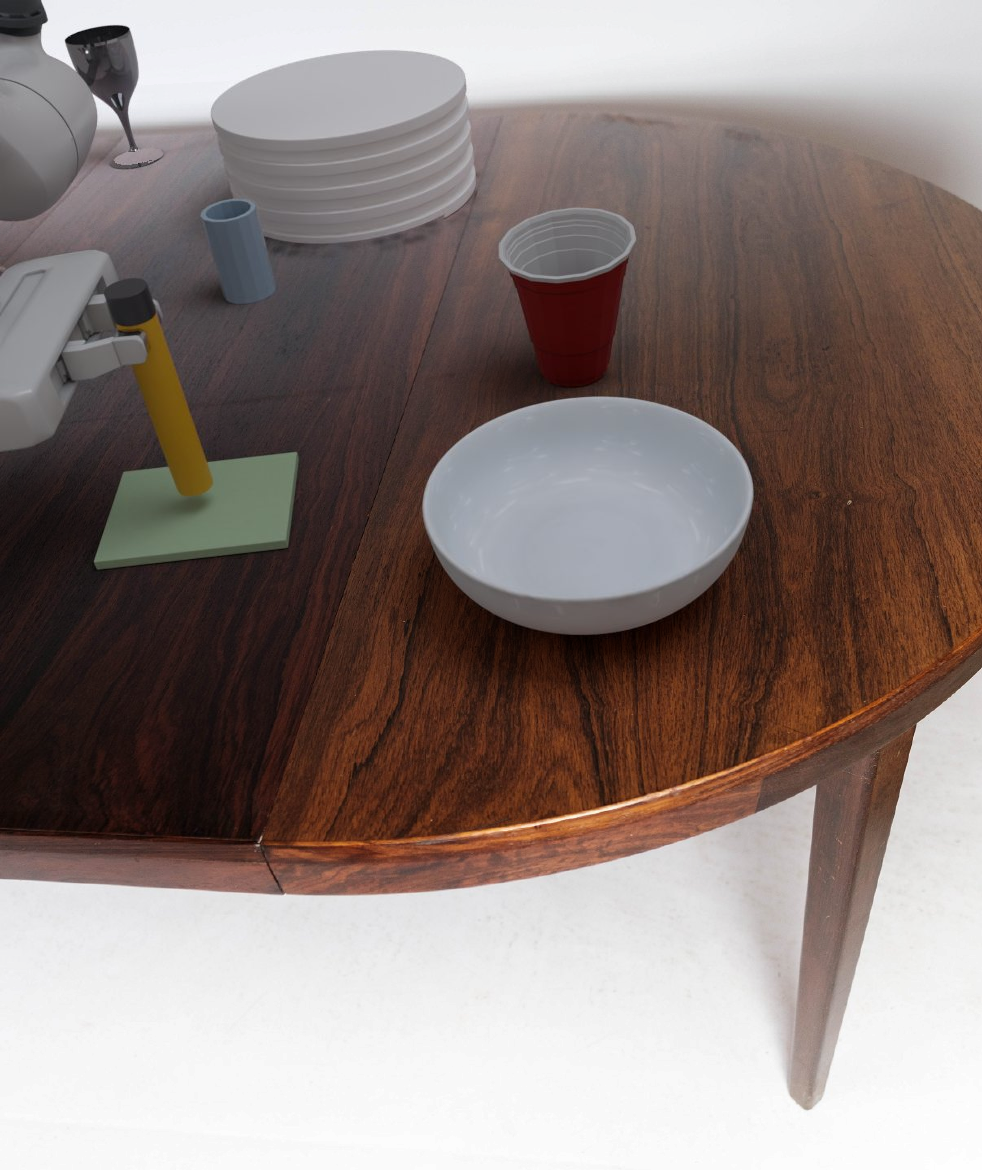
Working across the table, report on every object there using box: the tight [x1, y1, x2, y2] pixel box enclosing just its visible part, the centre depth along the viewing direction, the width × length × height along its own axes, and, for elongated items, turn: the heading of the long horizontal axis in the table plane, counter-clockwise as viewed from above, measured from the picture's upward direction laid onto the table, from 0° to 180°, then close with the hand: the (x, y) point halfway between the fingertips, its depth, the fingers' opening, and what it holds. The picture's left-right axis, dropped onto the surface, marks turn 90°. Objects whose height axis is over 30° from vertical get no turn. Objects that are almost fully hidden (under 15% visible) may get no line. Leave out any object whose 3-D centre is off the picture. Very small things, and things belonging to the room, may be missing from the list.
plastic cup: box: [498, 207, 637, 388], centre depth 86 cm, size 11×11×12 cm
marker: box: [104, 277, 213, 496], centre depth 73 cm, size 3×3×16 cm
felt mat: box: [93, 451, 300, 571], centre depth 80 cm, size 14×11×1 cm
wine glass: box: [64, 24, 157, 170], centre depth 134 cm, size 8×8×15 cm
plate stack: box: [210, 49, 477, 244], centre depth 119 cm, size 28×28×12 cm
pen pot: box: [199, 198, 277, 305], centre depth 103 cm, size 5×5×9 cm
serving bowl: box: [421, 396, 754, 636], centre depth 69 cm, size 21×21×7 cm
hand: (152, 330), depth 70 cm, fingers closed on marker, 3 cm apart
